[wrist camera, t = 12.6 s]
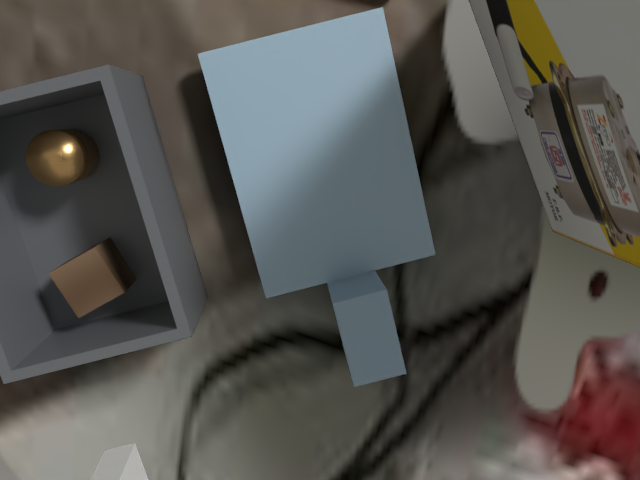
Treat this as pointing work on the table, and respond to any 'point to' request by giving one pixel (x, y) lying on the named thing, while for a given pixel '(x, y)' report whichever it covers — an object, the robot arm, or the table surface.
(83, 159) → the brass ball
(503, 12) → the packaging box
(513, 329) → the table surface
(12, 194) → the tub
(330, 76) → the lid
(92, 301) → the walnut block
